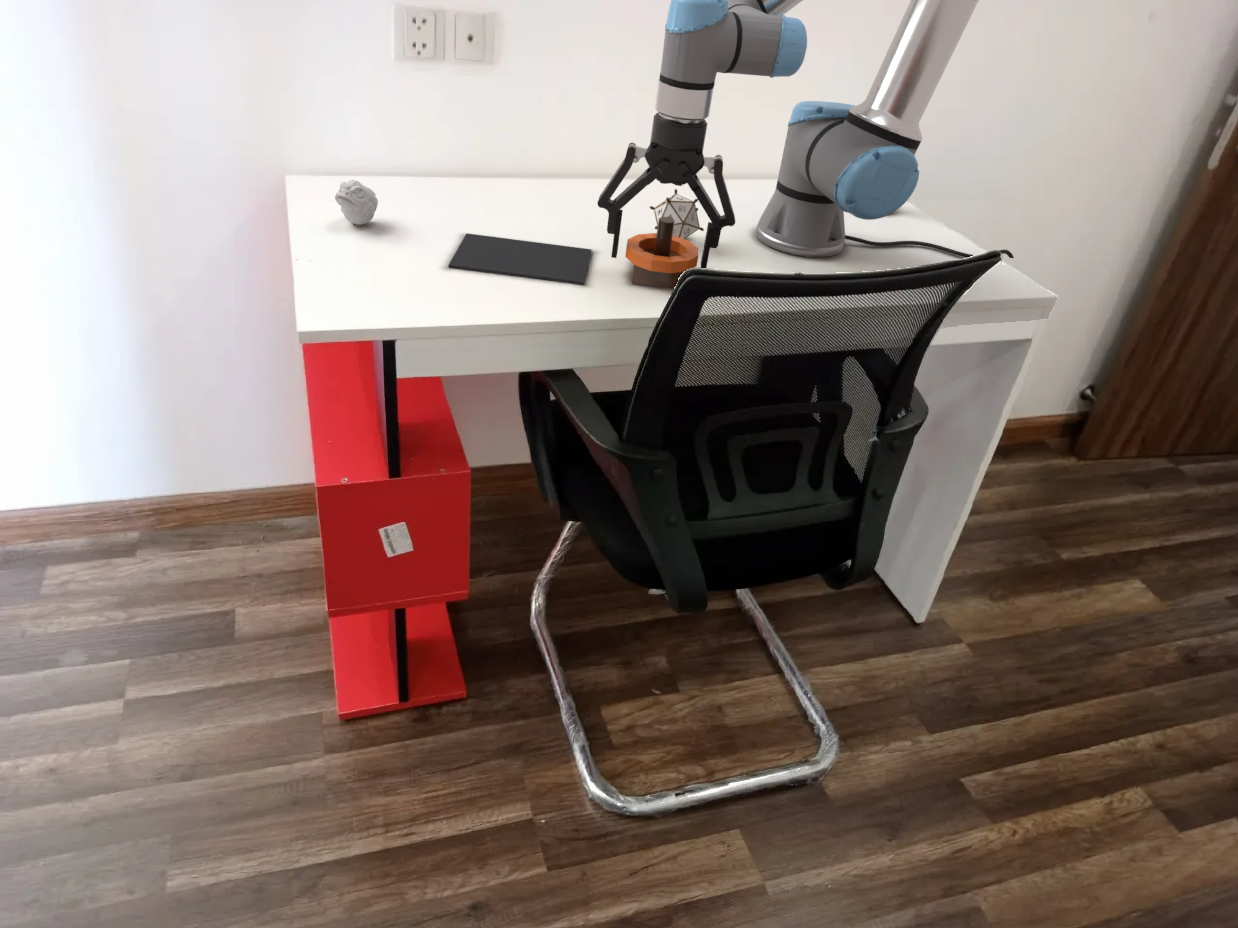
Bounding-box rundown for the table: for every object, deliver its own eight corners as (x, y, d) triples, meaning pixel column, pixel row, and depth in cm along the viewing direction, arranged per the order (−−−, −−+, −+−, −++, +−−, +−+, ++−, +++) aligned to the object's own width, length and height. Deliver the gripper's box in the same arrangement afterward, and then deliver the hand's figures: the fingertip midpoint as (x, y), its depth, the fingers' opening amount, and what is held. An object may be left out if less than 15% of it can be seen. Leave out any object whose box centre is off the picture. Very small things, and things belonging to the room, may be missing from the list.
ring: (696, 249, 142) (698, 238, 141) (696, 276, 133) (698, 265, 132) (627, 240, 142) (629, 229, 141) (623, 267, 133) (625, 256, 132)
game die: (665, 266, 152) (645, 226, 144) (657, 231, 157) (636, 190, 149) (716, 246, 150) (698, 204, 142) (706, 211, 155) (688, 169, 147)
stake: (684, 269, 142) (693, 214, 137) (684, 290, 136) (693, 233, 131) (634, 263, 142) (641, 207, 137) (631, 283, 136) (638, 226, 130)
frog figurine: (327, 225, 141) (324, 181, 137) (357, 213, 147) (354, 170, 143) (359, 235, 139) (356, 190, 136) (387, 223, 145) (386, 179, 141)
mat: (591, 251, 144) (591, 249, 144) (583, 284, 133) (583, 282, 133) (466, 235, 144) (466, 233, 144) (448, 267, 133) (448, 264, 133)
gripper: (768, 122, 129) (739, 262, 141) (594, 97, 128) (579, 240, 140) (772, 136, 122) (741, 282, 134) (589, 109, 122) (574, 258, 134)
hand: (658, 261), depth 137 cm, fingers open, 13 cm apart
